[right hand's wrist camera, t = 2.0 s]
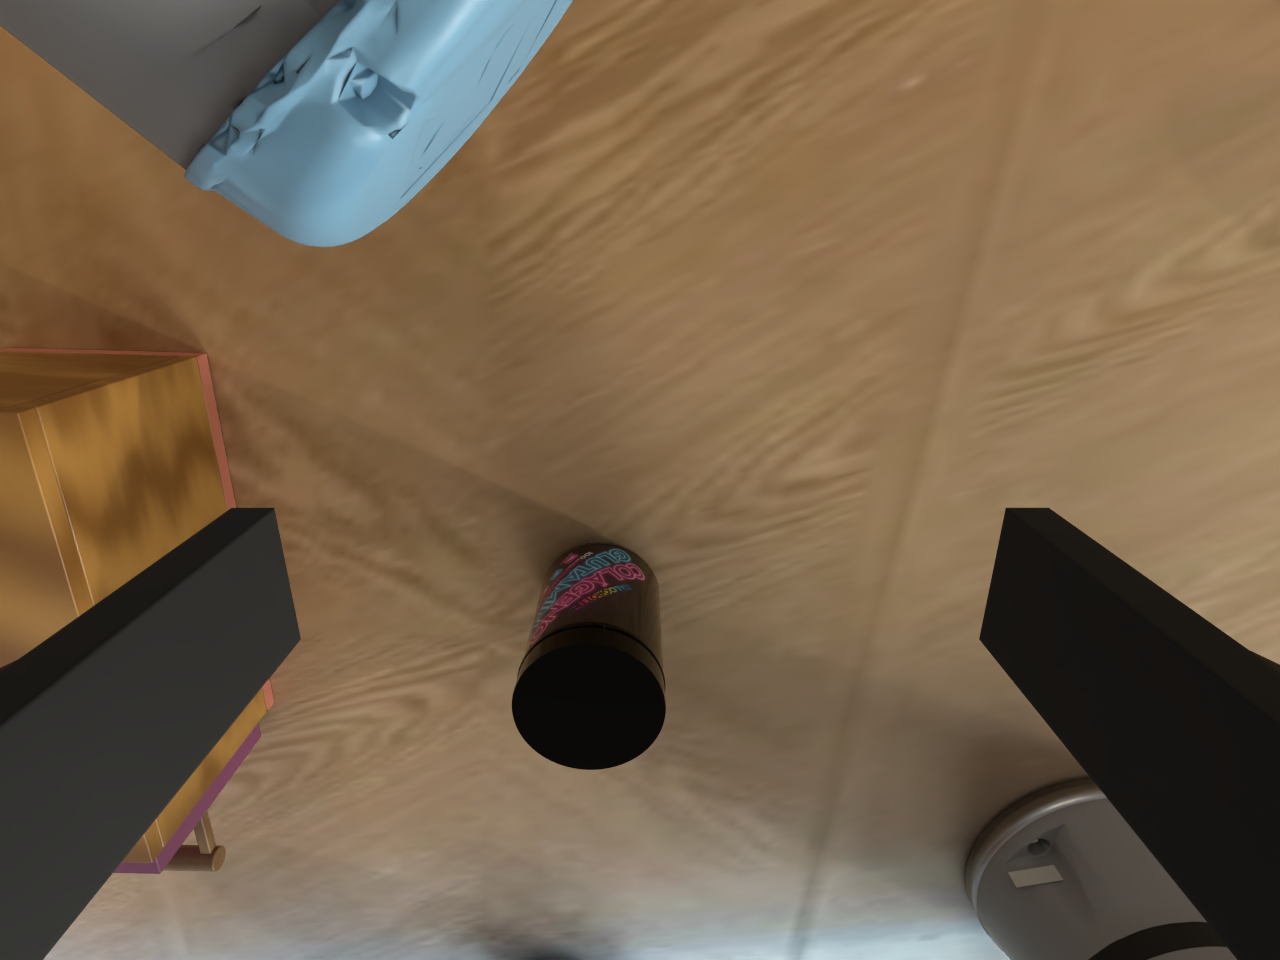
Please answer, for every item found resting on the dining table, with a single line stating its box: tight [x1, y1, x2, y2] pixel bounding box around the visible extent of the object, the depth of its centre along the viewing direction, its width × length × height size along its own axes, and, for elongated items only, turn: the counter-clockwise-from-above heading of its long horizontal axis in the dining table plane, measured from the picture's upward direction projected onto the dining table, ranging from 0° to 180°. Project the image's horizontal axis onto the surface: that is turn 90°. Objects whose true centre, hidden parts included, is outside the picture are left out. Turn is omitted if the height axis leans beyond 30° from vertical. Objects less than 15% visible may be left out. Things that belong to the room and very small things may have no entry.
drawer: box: [113, 723, 261, 874], centre depth 36 cm, size 26×9×10 cm, turn 178°
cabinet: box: [0, 348, 274, 863], centre depth 34 cm, size 22×10×12 cm, turn 178°
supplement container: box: [512, 542, 666, 770], centre depth 35 cm, size 7×7×10 cm
